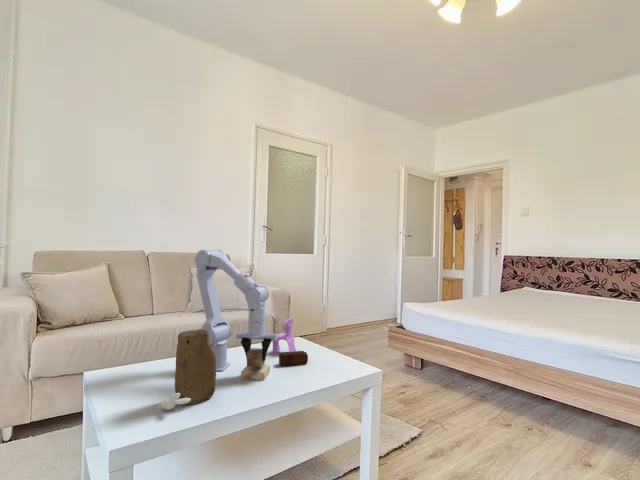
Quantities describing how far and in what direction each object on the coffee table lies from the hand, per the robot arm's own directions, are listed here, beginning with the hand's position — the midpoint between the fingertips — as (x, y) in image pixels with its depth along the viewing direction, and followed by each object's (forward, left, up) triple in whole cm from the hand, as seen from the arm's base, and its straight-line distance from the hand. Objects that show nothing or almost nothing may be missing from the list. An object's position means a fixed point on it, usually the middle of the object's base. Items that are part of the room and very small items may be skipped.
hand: (256, 359), depth 122 cm
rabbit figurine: (-14, -29, -6) cm, 33 cm away
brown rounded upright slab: (-12, -21, -6) cm, 25 cm away
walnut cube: (0, 0, -2) cm, 2 cm away
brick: (+11, +14, -6) cm, 18 cm away
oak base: (0, 0, -6) cm, 6 cm away
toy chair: (+4, +28, -6) cm, 29 cm away
